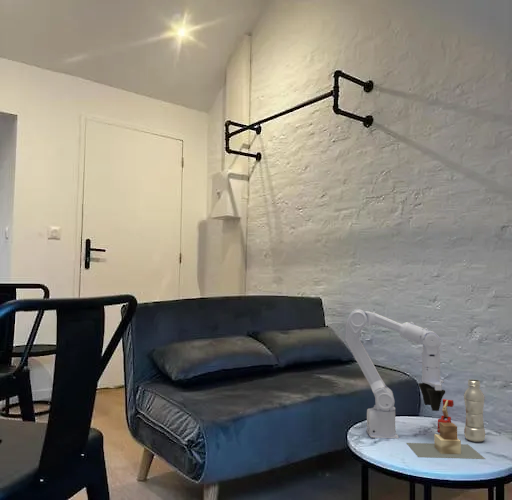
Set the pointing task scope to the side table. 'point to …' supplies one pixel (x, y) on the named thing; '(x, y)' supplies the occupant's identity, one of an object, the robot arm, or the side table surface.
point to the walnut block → (448, 431)
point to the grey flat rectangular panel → (431, 452)
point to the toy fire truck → (445, 413)
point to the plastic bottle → (474, 412)
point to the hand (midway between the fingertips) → (431, 407)
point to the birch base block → (447, 445)
